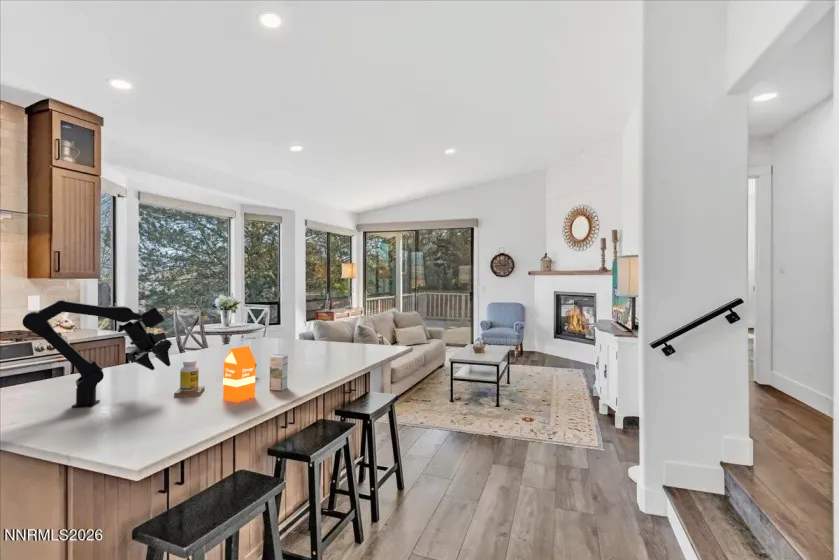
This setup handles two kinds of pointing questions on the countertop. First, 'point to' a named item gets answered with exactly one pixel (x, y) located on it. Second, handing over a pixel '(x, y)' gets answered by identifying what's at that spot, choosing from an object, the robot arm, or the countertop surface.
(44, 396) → the countertop surface
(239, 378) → the orange juice
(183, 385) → the pill bottle
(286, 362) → the syrup box
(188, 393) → the base tile
